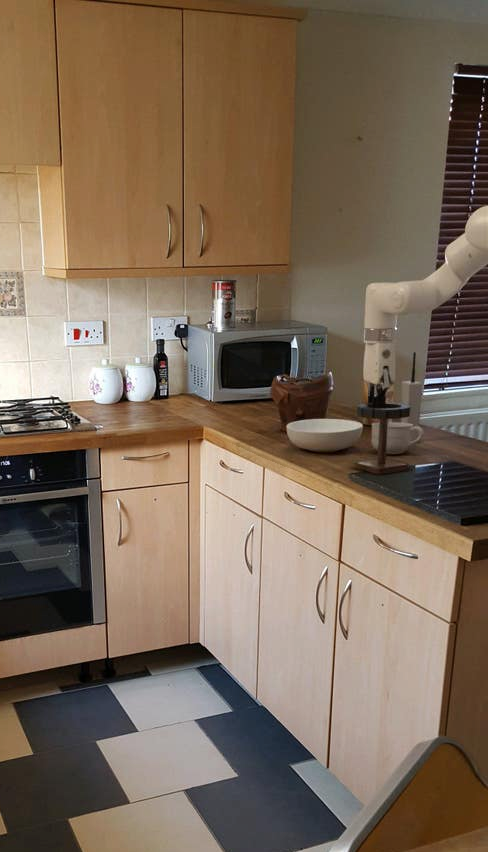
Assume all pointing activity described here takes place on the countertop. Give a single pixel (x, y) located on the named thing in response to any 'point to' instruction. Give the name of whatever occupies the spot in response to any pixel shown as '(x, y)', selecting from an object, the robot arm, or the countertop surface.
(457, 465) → the countertop surface
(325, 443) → the serving bowl
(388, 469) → the post
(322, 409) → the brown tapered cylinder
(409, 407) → the ring
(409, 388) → the vintage mobile phone
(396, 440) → the teacup
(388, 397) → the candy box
